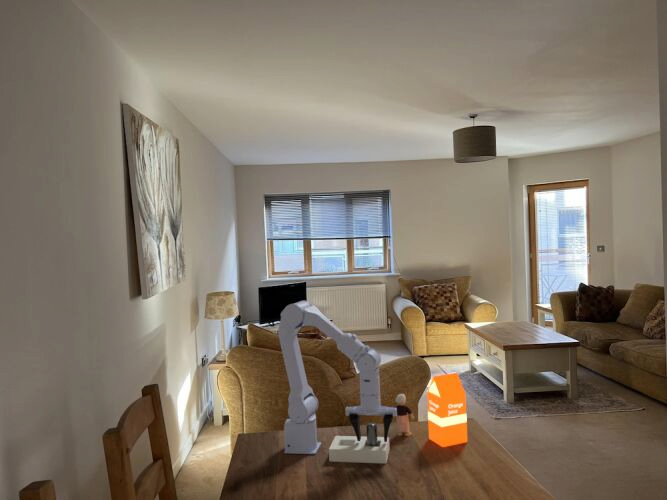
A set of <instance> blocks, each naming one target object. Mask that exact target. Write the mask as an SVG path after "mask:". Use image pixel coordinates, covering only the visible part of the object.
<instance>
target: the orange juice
mask: <svg viewBox="0 0 667 500" xmlns="http://www.w3.org/2000/svg"><path fill="white" fill-rule="evenodd" d="M426 392H427V393H426V396H427V397H426V398H427V420H428V421H427V422H428V439H429V440H430V441H432V442H434V443H435V444H437V445H439V447H442V448H447V447H451V446H455V445H459V444H464V443H468V419H467V416H468V415H467V400H466V399H467V395H466V392H465V388H464V387H463V384H462V381H461V379H460V376H459V374H458V372H453V373H448V374H441V375H440V374H439V375H435V376H432V378H431V382H430V383H429V387H428V389H427V391H426Z"/></svg>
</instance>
